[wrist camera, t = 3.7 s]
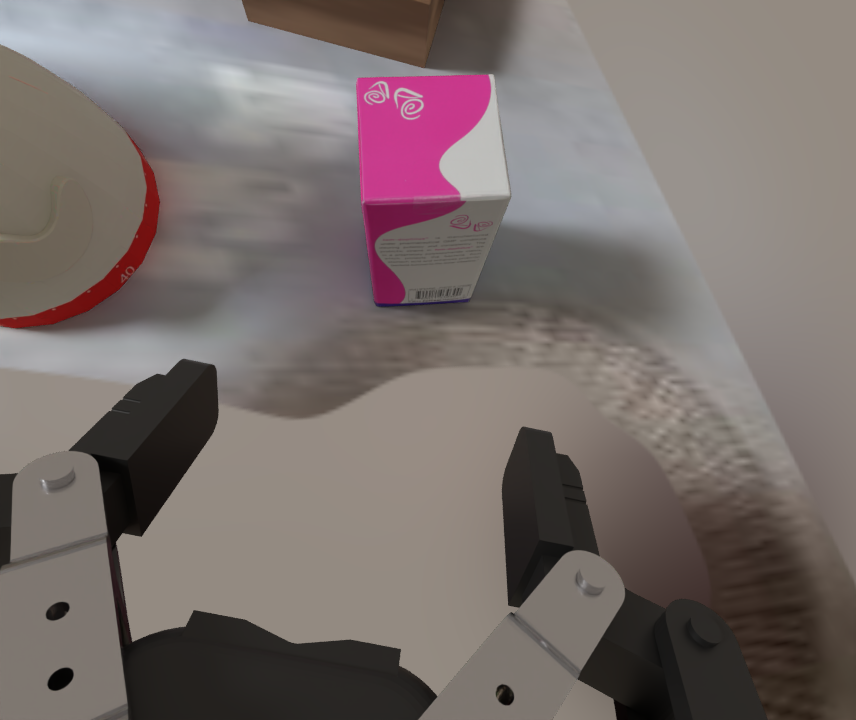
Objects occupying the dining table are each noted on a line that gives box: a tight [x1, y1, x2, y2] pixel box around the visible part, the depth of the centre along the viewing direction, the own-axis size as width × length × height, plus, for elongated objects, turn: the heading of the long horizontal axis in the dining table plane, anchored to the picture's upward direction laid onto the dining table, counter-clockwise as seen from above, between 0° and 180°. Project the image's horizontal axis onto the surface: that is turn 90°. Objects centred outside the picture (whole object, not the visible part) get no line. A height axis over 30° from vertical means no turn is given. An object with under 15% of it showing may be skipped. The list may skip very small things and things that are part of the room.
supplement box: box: [356, 74, 511, 307], centre depth 25 cm, size 6×6×12 cm
